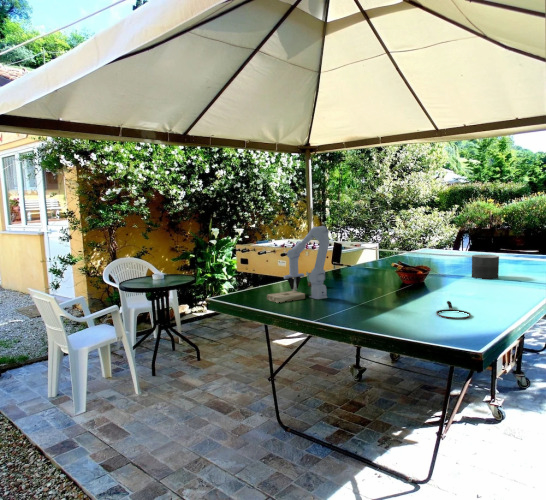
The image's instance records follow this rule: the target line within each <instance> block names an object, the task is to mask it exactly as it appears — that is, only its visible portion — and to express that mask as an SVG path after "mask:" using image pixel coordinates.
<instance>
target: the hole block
mask: <svg viewBox="0 0 546 500" xmlns="http://www.w3.org/2000/svg"><path fill="white" fill-rule="evenodd" d="M304 299H306V293H303V292H300V291H298V290H297V291H292V290H289V291H288V290H287V291H282V292H275V293H269V294H266V300H268V301H270V302H273V303H275V302H276V304H279V302H280V303H286V302H285V301H287V302H293V301H298V300H304ZM292 300H293V301H292Z"/></svg>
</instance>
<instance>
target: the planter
mask: <svg viewBox="0 0 546 500" xmlns="http://www.w3.org/2000/svg"><path fill="white" fill-rule="evenodd" d="M499 263H500V256H499V255H496V254H495V255H494V254H473V255H471V278H473V277H476V278H475V279H477V278H482V279H481V280H494V279H493V278H497V279H499V272H500V271H499V269H500V267H499V266H500V264H499Z"/></svg>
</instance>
